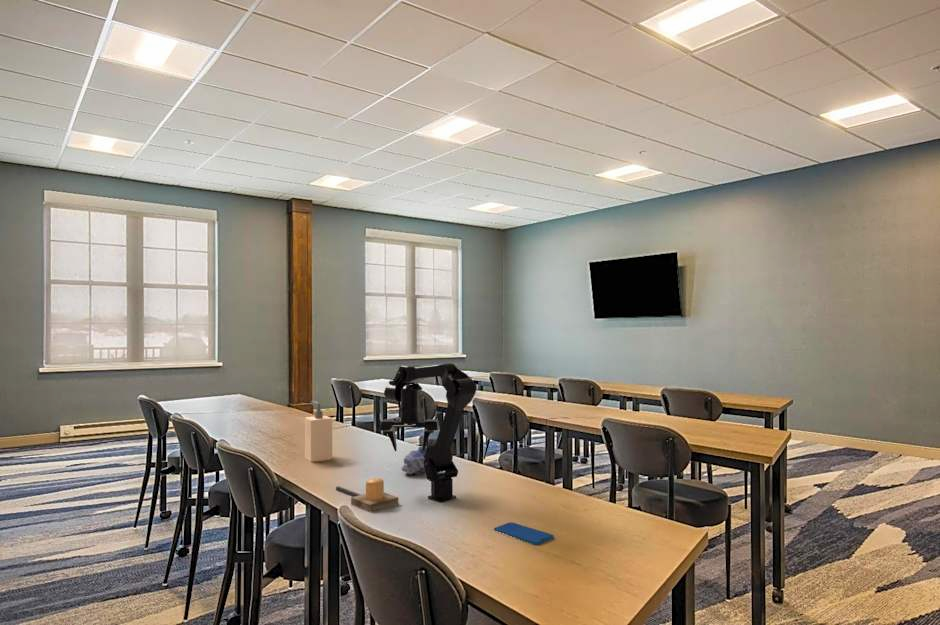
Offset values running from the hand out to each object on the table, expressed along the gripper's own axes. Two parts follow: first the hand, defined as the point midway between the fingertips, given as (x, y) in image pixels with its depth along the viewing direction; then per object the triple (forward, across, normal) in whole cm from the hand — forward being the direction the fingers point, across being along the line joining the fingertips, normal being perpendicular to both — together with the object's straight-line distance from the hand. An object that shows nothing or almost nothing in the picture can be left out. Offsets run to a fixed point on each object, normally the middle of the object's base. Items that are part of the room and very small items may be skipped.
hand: (409, 451), depth 190 cm
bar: (+12, +18, +8) cm, 23 cm away
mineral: (+12, -1, -20) cm, 24 cm away
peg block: (+12, +8, +17) cm, 22 cm away
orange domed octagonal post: (+10, +8, +17) cm, 21 cm away
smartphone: (+13, -34, +41) cm, 55 cm away
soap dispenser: (+12, +42, -42) cm, 61 cm away
